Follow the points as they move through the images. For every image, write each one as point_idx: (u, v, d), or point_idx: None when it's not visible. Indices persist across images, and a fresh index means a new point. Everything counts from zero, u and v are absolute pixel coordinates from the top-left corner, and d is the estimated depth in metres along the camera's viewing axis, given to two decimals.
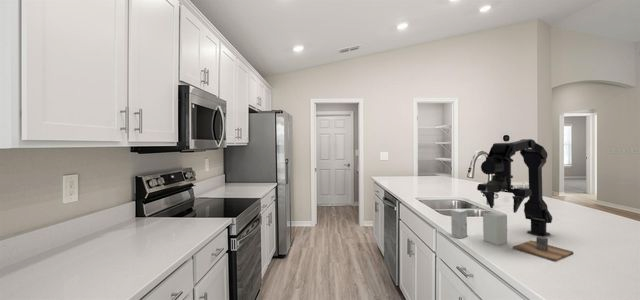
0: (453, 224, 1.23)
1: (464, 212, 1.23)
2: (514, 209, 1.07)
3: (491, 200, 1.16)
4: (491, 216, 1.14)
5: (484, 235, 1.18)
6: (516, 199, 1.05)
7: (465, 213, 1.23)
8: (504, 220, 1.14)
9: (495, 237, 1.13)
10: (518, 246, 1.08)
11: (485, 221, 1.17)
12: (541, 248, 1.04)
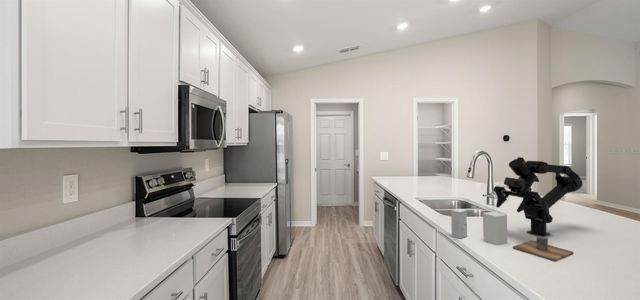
0: (453, 224, 1.23)
1: (464, 212, 1.23)
2: (518, 208, 1.14)
3: (500, 201, 1.23)
4: (491, 216, 1.14)
5: (484, 235, 1.18)
6: (525, 198, 1.13)
7: (465, 213, 1.23)
8: (504, 220, 1.14)
9: (495, 237, 1.13)
10: (518, 246, 1.08)
11: (485, 221, 1.17)
12: (541, 248, 1.04)
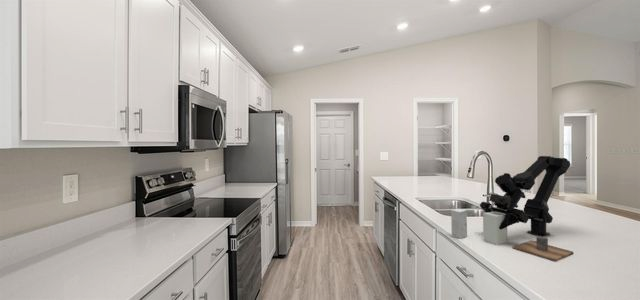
0: (453, 224, 1.23)
1: (464, 212, 1.23)
2: (501, 225, 1.13)
3: None
4: (491, 216, 1.14)
5: (484, 235, 1.18)
6: (508, 216, 1.12)
7: (465, 213, 1.23)
8: None
9: (495, 237, 1.13)
10: (518, 246, 1.08)
11: (485, 221, 1.17)
12: (541, 248, 1.04)
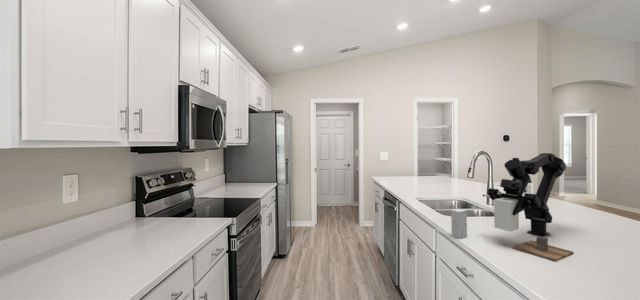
0: (453, 224, 1.23)
1: (464, 212, 1.23)
2: (514, 211, 1.09)
3: None
4: (504, 202, 1.10)
5: (495, 222, 1.13)
6: (521, 201, 1.08)
7: (465, 213, 1.23)
8: None
9: (509, 223, 1.09)
10: (518, 246, 1.08)
11: (497, 208, 1.13)
12: (541, 248, 1.04)
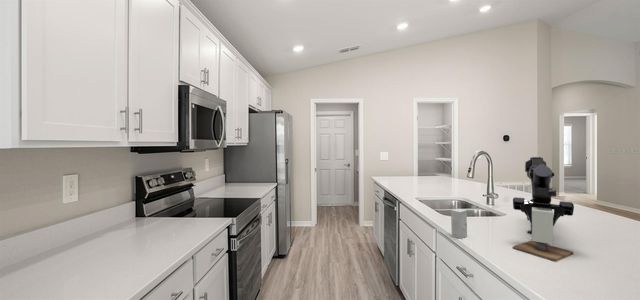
0: (453, 224, 1.23)
1: (464, 212, 1.23)
2: (554, 221, 1.02)
3: (531, 215, 1.08)
4: (545, 213, 1.02)
5: (533, 235, 1.04)
6: (558, 210, 1.03)
7: (465, 213, 1.23)
8: None
9: (551, 236, 1.01)
10: (518, 246, 1.08)
11: (535, 219, 1.04)
12: (541, 248, 1.04)
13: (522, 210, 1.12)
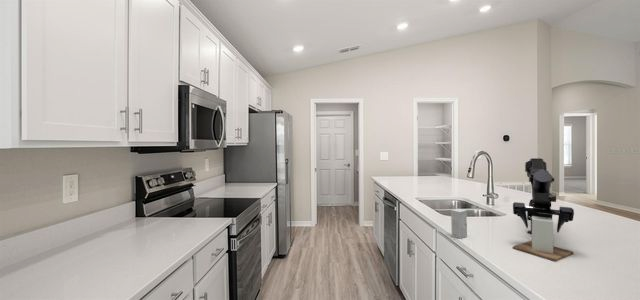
0: (453, 224, 1.23)
1: (464, 212, 1.23)
2: (558, 227, 1.01)
3: None
4: (545, 222, 1.02)
5: (534, 244, 1.04)
6: (563, 216, 1.02)
7: (465, 213, 1.23)
8: None
9: (551, 245, 1.01)
10: (518, 246, 1.08)
11: (535, 228, 1.04)
12: None
13: (518, 215, 1.13)
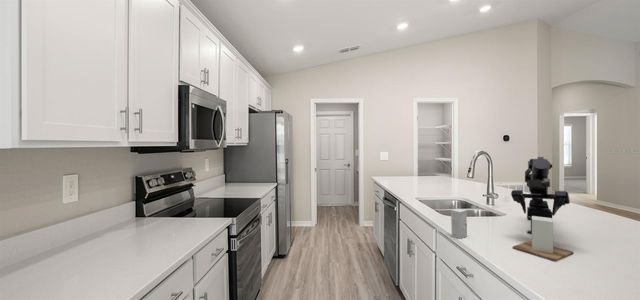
0: (453, 224, 1.23)
1: (464, 212, 1.23)
2: (553, 211, 1.07)
3: (525, 206, 1.15)
4: (545, 222, 1.02)
5: (534, 244, 1.04)
6: (557, 200, 1.07)
7: (465, 213, 1.23)
8: None
9: (551, 245, 1.01)
10: (518, 246, 1.08)
11: (535, 228, 1.04)
12: None
13: (518, 201, 1.20)
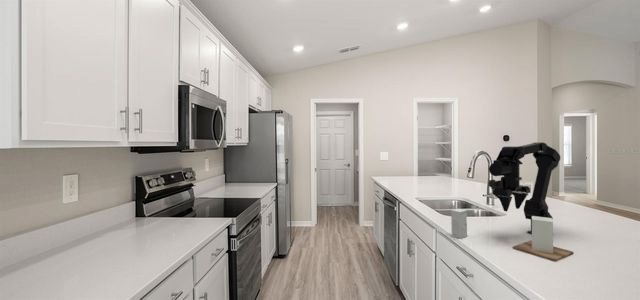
0: (453, 224, 1.23)
1: (464, 212, 1.23)
2: None
3: (517, 201, 1.20)
4: (545, 222, 1.02)
5: (534, 244, 1.04)
6: None
7: (465, 213, 1.23)
8: None
9: (551, 245, 1.01)
10: (518, 246, 1.08)
11: (535, 228, 1.04)
12: None
13: None
